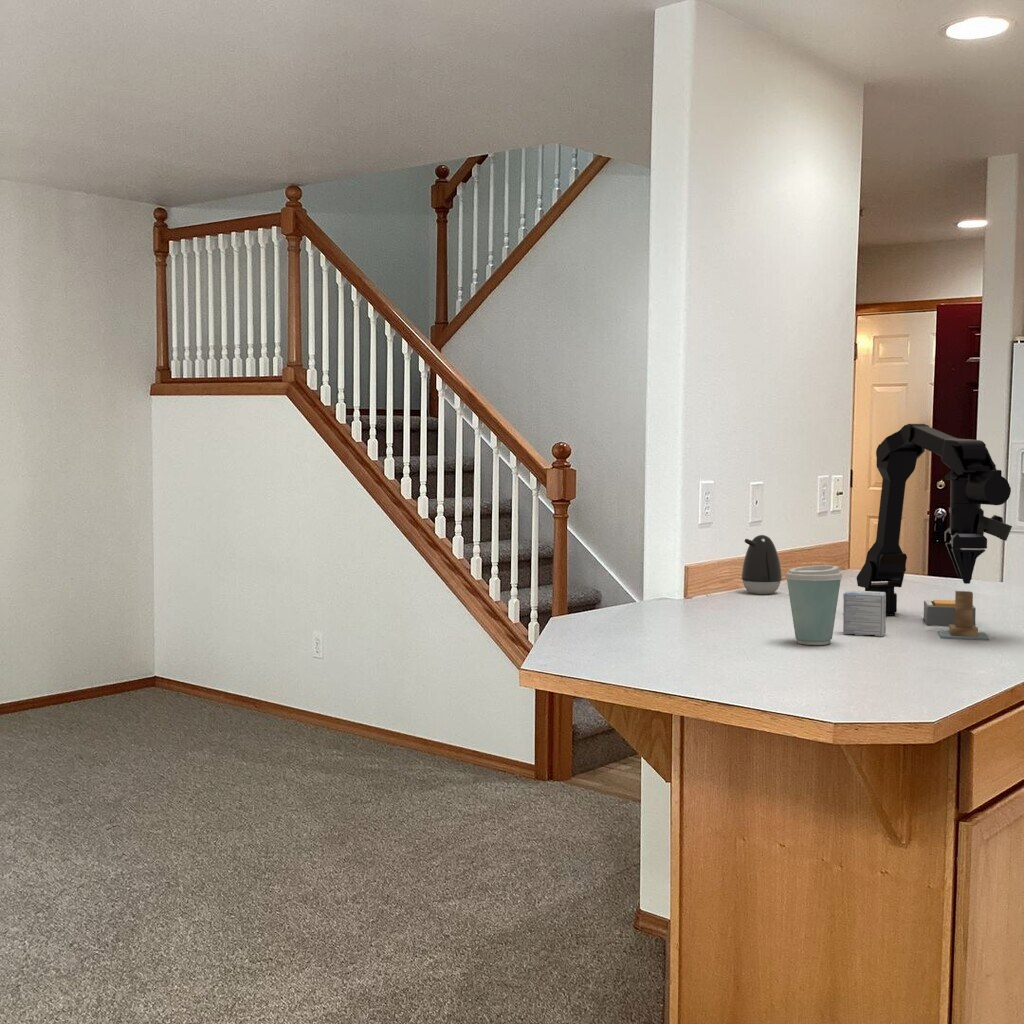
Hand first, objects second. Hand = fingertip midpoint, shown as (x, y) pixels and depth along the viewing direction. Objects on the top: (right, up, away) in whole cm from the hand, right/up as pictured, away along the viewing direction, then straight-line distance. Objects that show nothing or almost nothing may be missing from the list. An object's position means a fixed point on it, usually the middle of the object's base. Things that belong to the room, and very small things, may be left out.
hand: (964, 581), depth 234 cm
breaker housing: (+4, -10, +18) cm, 21 cm away
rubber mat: (0, -11, +1) cm, 11 cm away
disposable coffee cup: (-32, -12, -6) cm, 35 cm away
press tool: (0, -11, +1) cm, 11 cm away
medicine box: (-19, -11, +4) cm, 22 cm away
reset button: (+4, -9, +18) cm, 21 cm away
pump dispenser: (-26, -8, +69) cm, 74 cm away
